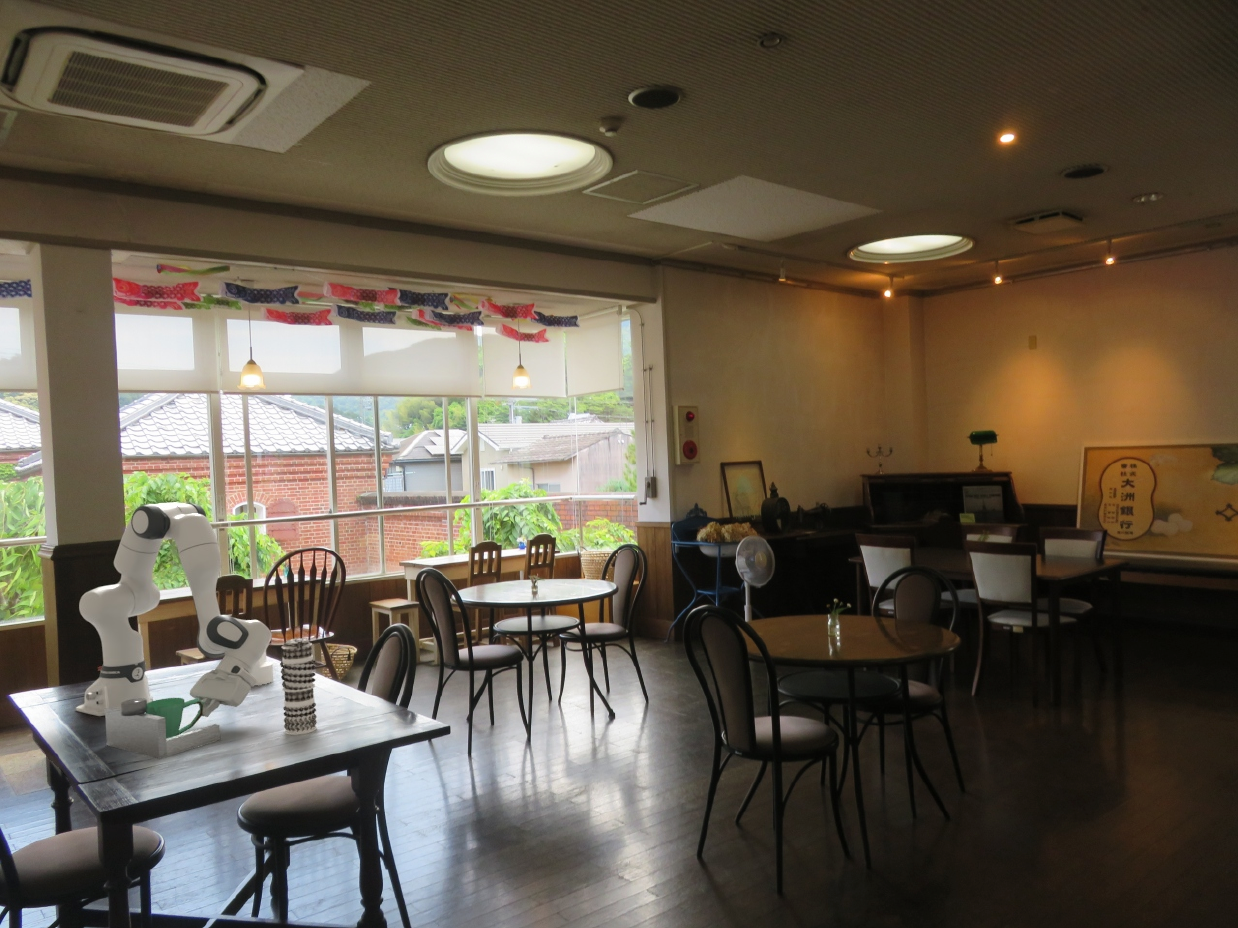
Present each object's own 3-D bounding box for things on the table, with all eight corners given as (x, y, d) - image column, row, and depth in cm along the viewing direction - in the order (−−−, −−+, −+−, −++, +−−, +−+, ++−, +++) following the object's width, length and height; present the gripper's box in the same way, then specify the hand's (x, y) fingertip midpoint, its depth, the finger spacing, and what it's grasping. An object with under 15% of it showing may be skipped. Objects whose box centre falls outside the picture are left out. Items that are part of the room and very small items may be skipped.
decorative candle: (303, 736, 244) (299, 644, 244) (275, 733, 247) (271, 642, 247) (325, 726, 253) (321, 637, 252) (298, 724, 256) (294, 636, 256)
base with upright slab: (249, 680, 313) (248, 645, 313) (276, 678, 314) (274, 643, 314) (241, 686, 304) (240, 651, 304) (269, 684, 305) (267, 649, 305)
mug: (148, 747, 240) (146, 709, 240) (144, 738, 248) (142, 702, 248) (208, 735, 248) (206, 699, 248) (202, 727, 256) (200, 692, 256)
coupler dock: (167, 727, 257) (165, 682, 257) (220, 739, 244) (218, 691, 244) (99, 747, 241) (96, 698, 241) (151, 761, 228) (149, 709, 228)
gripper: (202, 663, 265) (172, 705, 257) (246, 669, 254) (216, 713, 246) (217, 675, 269) (188, 716, 261) (260, 681, 258) (231, 725, 250)
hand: (202, 715), depth 253 cm, fingers closed
